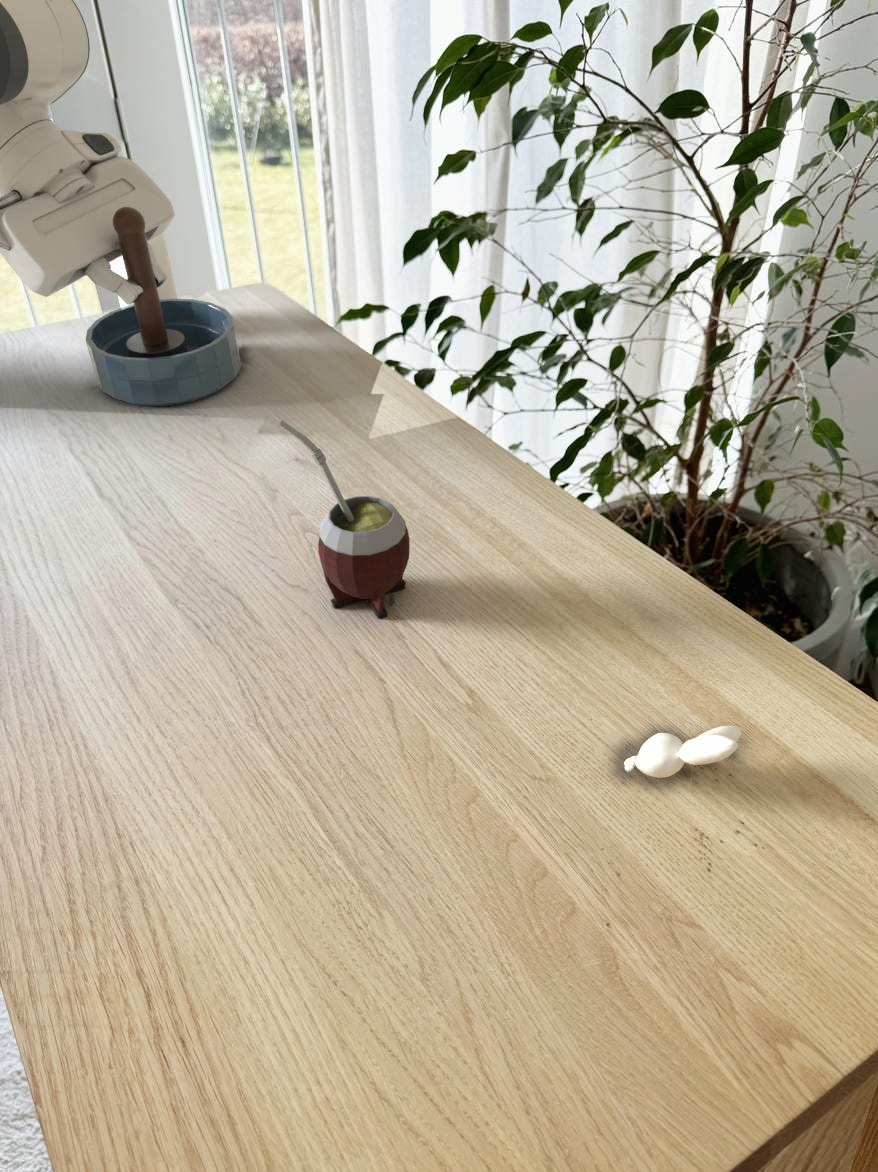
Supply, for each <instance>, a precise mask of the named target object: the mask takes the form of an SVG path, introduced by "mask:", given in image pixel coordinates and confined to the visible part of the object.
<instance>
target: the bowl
mask: <svg viewBox="0 0 878 1172" xmlns="http://www.w3.org/2000/svg"><path fill="white" fill-rule="evenodd" d="M160 304H161V308H162V313H163V318H164V322H165V327H166V329H172V330H176V331H179V332H181V333H182V334H183V335H184V337H185V341H186V346H187V351H188V352H186V353H182V354H177V355H173V356H166V357H156V358H131V357H129V354H128V350H127V346H126V342H127V340H128V339H129V338H130V337H132V336H133V335H135V334H137V333H140V328H139V324H138V320H137V315H136V311H135V307H134V304H132V305H128V306H125V307H122V308H121V307H120V308H116V309H115V310H112V311H109V312H107V313H106V314H104V315H103V316H101V317H99V318H98V319H96V320H95V321H94V322H93V323H92V324H91V325H90V326H89V327H88V329H87V330H86V334H85V344H86V347H87V352H88V354H89V358H90V361H91V365H92V369H93V372H94V376H95V379H96V383H97V385H98V386H99V387H100V389H101V390H102V392H103V393H104V394H107V395H108V396H110V397H111V398H114V399H116V400H119V401H122V402H124V403H129V404H132V405H137V406H145V407H147V406H148V407H165V406H166V407H167V406H176V405H177V406H178V405H181V404H187V403H191V402H195V401H198V400H202V399H205V398H207V397H209V396H211V395H214V394H215V393H217V392H219V391H221V390H222V389H224V387H226V386H227V385H228V384H229V383H231V382H232V381H233V380H235V378H236V377H237V375H238V374H239V372H240V370H241V368H242V367H241V358H240V351H239V346H238V345H239V344H238V339H237V335H236V327H235V323H234V316H233V315H232V314H231V313H230V312H229V311H228V310H227V309H226V308H224V307H222V306H220V305H217V304H215V303H212V302H209V301H203V300H198V299H194V298H193V299H192V298H177V299H163V300H160Z"/></svg>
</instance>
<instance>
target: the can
mask: <svg viewBox="0 0 878 1172" xmlns="http://www.w3.org/2000/svg"><path fill="white" fill-rule="evenodd" d="M147 242H148V243H149V244H150V245H151V248H152V251H153V254H154V257H155V260H156V264H157V265H158V266H159V267H160V268H161V269H162V270H163V271H164V273H165V274H166V276H167V279H166V280H165V282H164V283H163V285H161V286H160V287H158V288H157V290H158V294H159V299H160V300H163V299H178V296H177V291H176V286H175V281H174V276H173V273H172V267H171V263H170V258H169V253H168V249H167V244H166V239H165V236H164V232H163V233H162V234H160V235H158V236H156V237H154V238H153V239H151V240H149V241H147ZM109 263H110V264H111V267H110V270H112V271H114V272H115V273H117V274H119V275H120V276H122V277H124V278H125V279H126V280H127V279H128V277H127V273H126V269H125V264H124V260H123V256H120V257H118V258H117V259H115V260H113V261H111V262H109ZM117 297H118V302H119V306H120V308H122V307H125V306H128V304H126V303H125V302H124V301H123V300H122V299H121V298H120V297H119V296H118V295H117ZM132 304H134V303H132ZM132 304H130V305H132Z"/></svg>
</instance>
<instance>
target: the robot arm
mask: <svg viewBox="0 0 878 1172" xmlns="http://www.w3.org/2000/svg"><path fill="white" fill-rule="evenodd" d="M90 50H91V49H90V37H89V32H88V28H87V25H86V22H85V19H84V17H83V15H82V13H81V11H80V9H79V7H78V6H77V4H76V2H75V1H74V0H0V254H1V256H2V257H3V258H4V260H5V262H6V263H7V265H9V267H10V268H11V269H12V271H13V272H14V273H15V274H16V275H17V276H18V278H19V279H20V280H21V281H22V282H23V284H24V285H25V286H26V287H27V288H28V289H29V290H30V291H31V292H33V293H35V294H37V295H40V296H42V297H45V298H46V297H50V296H52V295H54V294H55V293H57V292H59V291H62V290H63V289H64V288H66V287H68V286H70V285H71V284H73V283H75V282H77V281H79V280H81V279H82V278H85V277H86V276H87V277H88V278H89V279H90V281H92V282H93V284H95V285H97V286H98V287H101V288H103V289H105V290H108V291H110V292H111V293H114V294H116V295H117V297H118V296H119V297H120V298H121V299H122V300H123V301H124V302H125V303H126V304H128V305H130V304H132V303H134V302H135V301H137V300H138V299H139V298H140V296H141V295H142V294H143V289H142V287H141V286H140V285H137V282H136V281H135V280H134V279H133V278H132V277H131V278H129V279H127V280H126V279H125V278H124V277H122V276H120V275H119V274H117V273H115V272H114V271H112V270H111V264H110V262H111V261H113V260H115V259H117V258H118V257H120V256H122V252H121V247H120V243H119V239H118V235H117V232H116V231H115V229H114V226H113V216H114V214H115V212H116V211H117V210H119V209H120V208H123V207H131V208H134V209H136V210H138V211H139V212H140V213H141V215H142V216H143V218H144V220H145V234H146V239H147V241H149V240H151V239H153V238H154V237H156V236H158V235H160V234H162V233H163V234H164V232H165V231H166V229H167V228H168V226H169V225H170V224H171V222H172V221H173V220H174V218H175V216H176V215H175V210H174V206H173V203H172V202H171V200H170V198H169V197H168V196H167V195H166V194H165V192H163V190H162V189H161V188H160V187H159V186H158V184H157V183H156V182H155V181H154V180H153V179H152V178H151V177H150V176H149V175H148V174H147V172H145V170H144V169H143V168H141V167H140V166H139V165H138V164H137V163H136V162H134V161H133V160H131V159H130V158H128V157H126V156H122V155H120V153H121V150H122V147H121V144H120V143H119V142H118V140H117V139H115V137H113V136H112V134H109V133H106V132H88V131H87V132H85V131H83V132H82V131H77V130H70V129H60V128H59V127H58V126H57V125H56V124H55V122H54V121H53V120H52V119H51V117H50V116H49V114H48V108H49V106H51V105H52V104H54V103H55V102H57V101H58V100H59V99H60V98H62V97H63V96H64V95H65V94H66V93H67V92H68V91H69V90H71V88H73V86H74V85H75V84H77V82H78V81H79V80H80V79H81V78H82V77H83V75H84V73H85V72H86V70H87V67H88V63H89V60H90ZM147 244H148V248H149V253H150V258H151V262H152V267H153V271H154V276H155V281H156V285H157V288H158V287H160V286H161V285H163V283H164V282H165V280H166V279H167V276H166V274H165V273H164V271H163V270H162V269H161V268H160V267H159V266H158V265H157V264H156V260H155V257H154V254H153V251H152V248H151V245H150V244H149V243H148V242H147Z"/></svg>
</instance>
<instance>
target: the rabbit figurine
mask: <svg viewBox="0 0 878 1172" xmlns="http://www.w3.org/2000/svg"><path fill="white" fill-rule="evenodd" d="M742 735H743V734H742V730H741V728H740V727H737V726H735V725H722V726H718V727H714V728H712V729H710V730H707V731H705V732H702V733H701V734H699V735H698V736H697V737H694V738H691V739H689V740H686V741H685V742H684V743H683V742H682V740H681V739H680V738H679V737H677V736H676V735H674V734H672V733H668V732H658V733H656V734H654V735H652V736H651V737H650V738H648V739H647V740H646V741H645V742H644V743H643V744H642V745H641V747H640V749H639V752H638V754H637V755H633V756H631V757H628V758H626V760H624V762H623V765H624V770H625V771H626V772H627V773H630V772H631V771H633V769H634V768H635V767H637V769H638V770H639V771H640V772H641V773H643V774H645V775H646V776H648V777H649V776H650V777H653V778H658V779H661V778H669V777H670V776H674V775H676V774H677V773H678V772H679V771H680V770H681V769H682V768H683V766H684V765H685V763H686V764H689V765H693V766H699V765H709V764H713V763H716V762H717V763H718V762H720V761H723V760H725V759H727V758H729V756H731V755H733V753H734V752H735V751H736V750H737V748H738V745H739V744H738V741H739V740H740V739H741V736H742Z"/></svg>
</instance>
